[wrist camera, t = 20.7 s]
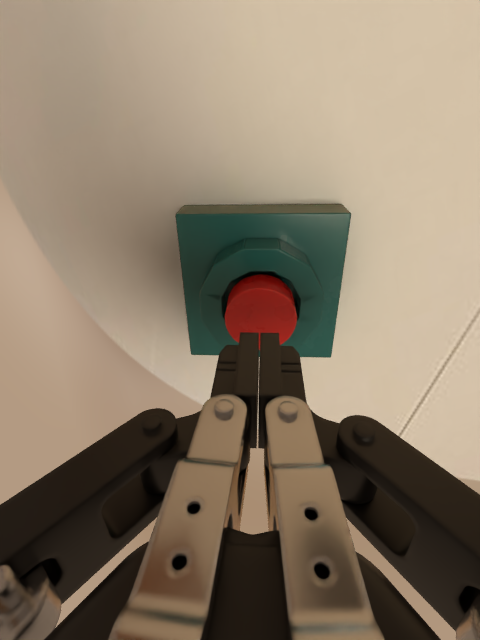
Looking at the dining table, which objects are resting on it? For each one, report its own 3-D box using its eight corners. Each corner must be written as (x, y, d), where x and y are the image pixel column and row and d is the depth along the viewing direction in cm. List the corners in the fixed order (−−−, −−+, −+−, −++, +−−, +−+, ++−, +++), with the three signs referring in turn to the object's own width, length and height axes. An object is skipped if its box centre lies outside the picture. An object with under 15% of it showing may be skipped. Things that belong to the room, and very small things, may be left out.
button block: (196, 336, 24) (185, 372, 21) (183, 204, 20) (166, 222, 16) (325, 338, 24) (336, 376, 20) (342, 203, 19) (360, 222, 16)
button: (228, 332, 20) (225, 350, 18) (226, 273, 18) (222, 287, 16) (292, 333, 19) (294, 351, 18) (296, 273, 18) (299, 288, 16)
